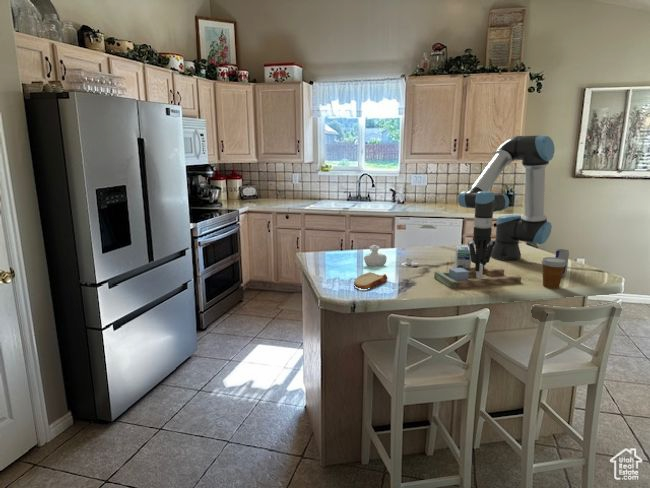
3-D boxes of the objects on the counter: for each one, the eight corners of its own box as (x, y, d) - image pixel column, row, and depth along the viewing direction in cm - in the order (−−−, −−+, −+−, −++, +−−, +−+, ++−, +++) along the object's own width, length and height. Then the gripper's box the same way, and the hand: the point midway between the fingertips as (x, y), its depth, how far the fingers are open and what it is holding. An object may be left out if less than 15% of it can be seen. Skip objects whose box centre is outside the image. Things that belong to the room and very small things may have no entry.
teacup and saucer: (420, 267, 220) (420, 259, 219) (405, 268, 219) (405, 260, 218) (413, 262, 229) (414, 255, 228) (399, 263, 228) (399, 256, 227)
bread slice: (358, 292, 184) (358, 283, 183) (346, 279, 201) (346, 271, 200) (397, 288, 188) (398, 280, 187) (382, 276, 205) (382, 268, 204)
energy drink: (550, 274, 206) (553, 249, 204) (558, 273, 209) (561, 248, 206) (560, 277, 202) (563, 252, 199) (568, 276, 204) (572, 251, 201)
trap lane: (494, 270, 213) (495, 264, 212) (520, 282, 195) (521, 276, 194) (431, 275, 205) (431, 269, 204) (452, 288, 187) (452, 281, 186)
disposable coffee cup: (540, 288, 186) (543, 261, 184) (537, 282, 195) (540, 256, 192) (565, 291, 183) (568, 263, 180) (561, 284, 192) (564, 257, 189)
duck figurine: (385, 268, 226) (382, 248, 230) (389, 262, 219) (385, 242, 223) (363, 269, 224) (360, 249, 228) (366, 263, 217) (363, 243, 221)
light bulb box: (470, 271, 211) (472, 250, 209) (456, 271, 213) (457, 249, 210) (468, 265, 222) (469, 245, 219) (454, 265, 223) (455, 244, 221)
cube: (460, 280, 198) (461, 267, 197) (467, 284, 193) (468, 271, 191) (448, 281, 197) (449, 268, 196) (455, 285, 191) (456, 272, 190)
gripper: (474, 229, 187) (470, 281, 192) (501, 227, 190) (496, 279, 195) (464, 225, 194) (461, 276, 199) (490, 224, 197) (486, 274, 202)
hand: (479, 277), depth 197 cm, fingers closed
